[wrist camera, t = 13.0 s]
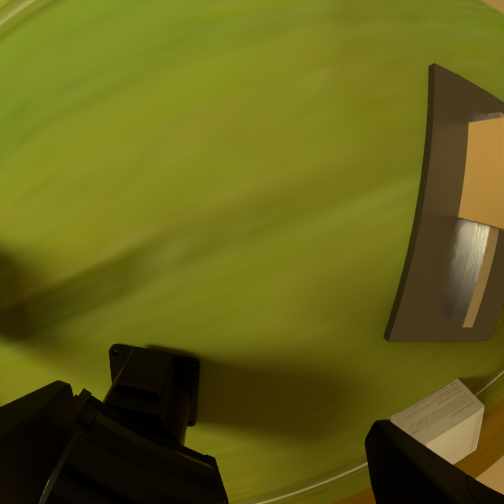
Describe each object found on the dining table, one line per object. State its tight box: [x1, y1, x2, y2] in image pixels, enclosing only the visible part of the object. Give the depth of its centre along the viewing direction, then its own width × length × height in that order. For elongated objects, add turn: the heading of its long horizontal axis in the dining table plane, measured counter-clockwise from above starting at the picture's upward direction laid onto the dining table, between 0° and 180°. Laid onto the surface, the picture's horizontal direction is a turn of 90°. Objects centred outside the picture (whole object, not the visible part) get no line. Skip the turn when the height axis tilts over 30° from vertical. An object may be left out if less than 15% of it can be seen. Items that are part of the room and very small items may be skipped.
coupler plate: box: [384, 63, 504, 342], centre depth 18 cm, size 20×12×2 cm, turn 172°
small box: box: [390, 378, 485, 465], centre depth 21 cm, size 8×8×5 cm
